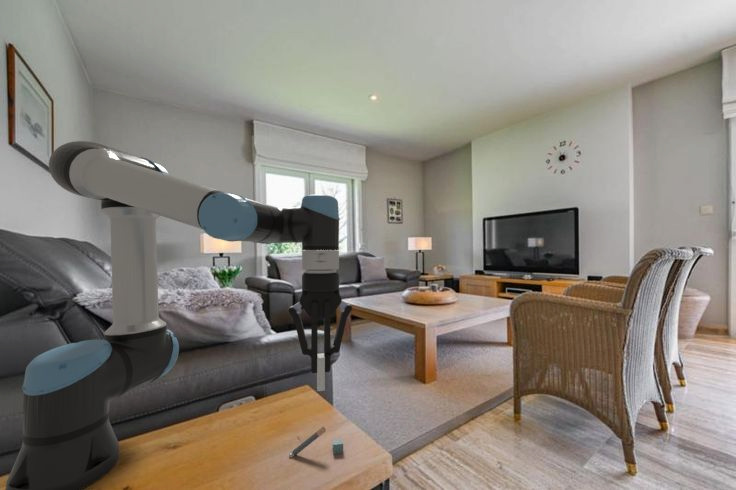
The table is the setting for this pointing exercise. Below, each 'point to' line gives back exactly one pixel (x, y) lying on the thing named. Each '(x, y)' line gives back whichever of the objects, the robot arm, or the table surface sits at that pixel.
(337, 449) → the teal matte cube
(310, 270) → the robot arm
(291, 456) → the bar
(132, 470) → the table surface
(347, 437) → the table surface
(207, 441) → the table surface
